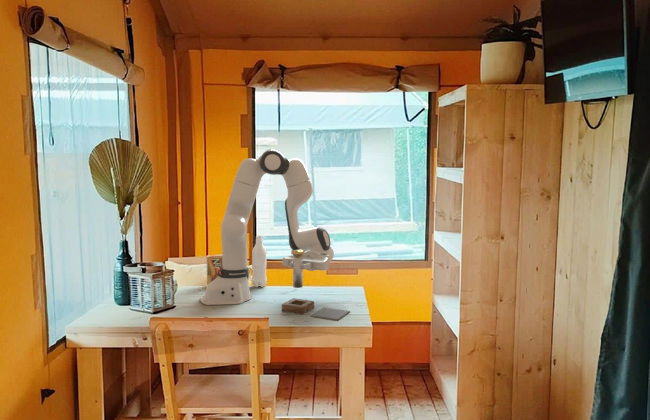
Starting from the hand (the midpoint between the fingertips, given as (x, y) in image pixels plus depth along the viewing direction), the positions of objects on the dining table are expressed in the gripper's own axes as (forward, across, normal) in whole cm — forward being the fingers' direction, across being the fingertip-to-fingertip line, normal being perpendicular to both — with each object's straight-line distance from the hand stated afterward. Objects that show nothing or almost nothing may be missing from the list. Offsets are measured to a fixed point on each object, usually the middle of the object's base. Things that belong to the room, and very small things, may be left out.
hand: (296, 266), depth 217 cm
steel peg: (-1, 0, +9) cm, 9 cm away
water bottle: (-26, -35, +19) cm, 48 cm away
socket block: (-1, 0, +19) cm, 19 cm away
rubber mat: (-1, +15, +19) cm, 24 cm away
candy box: (-17, -54, +19) cm, 60 cm away
